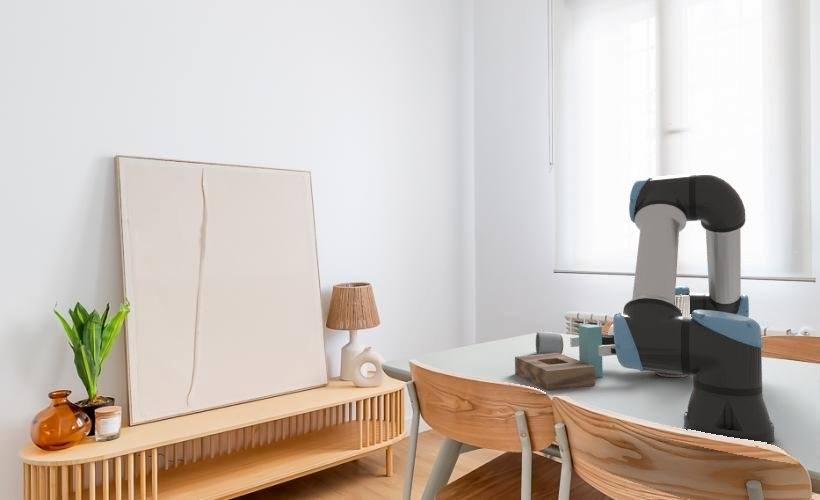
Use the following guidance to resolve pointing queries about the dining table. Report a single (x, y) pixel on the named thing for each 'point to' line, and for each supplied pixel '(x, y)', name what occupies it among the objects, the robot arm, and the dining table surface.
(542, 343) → the gray can
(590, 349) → the teal peg
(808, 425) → the dining table surface
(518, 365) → the socket block
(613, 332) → the geometric ball
